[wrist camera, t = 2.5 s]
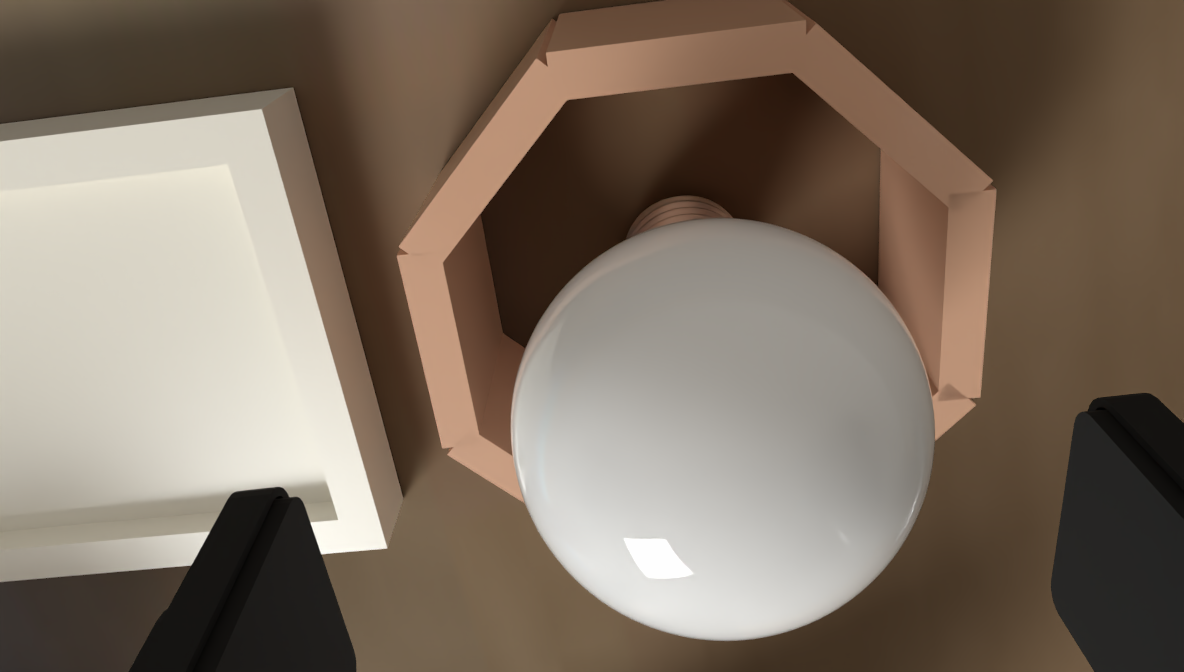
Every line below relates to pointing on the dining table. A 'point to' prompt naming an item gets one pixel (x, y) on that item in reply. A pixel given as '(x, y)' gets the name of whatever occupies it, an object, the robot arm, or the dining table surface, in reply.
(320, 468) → the tray
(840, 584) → the lightbulb
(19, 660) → the dining table surface
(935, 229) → the terracotta octagonal ring
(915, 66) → the dining table surface
